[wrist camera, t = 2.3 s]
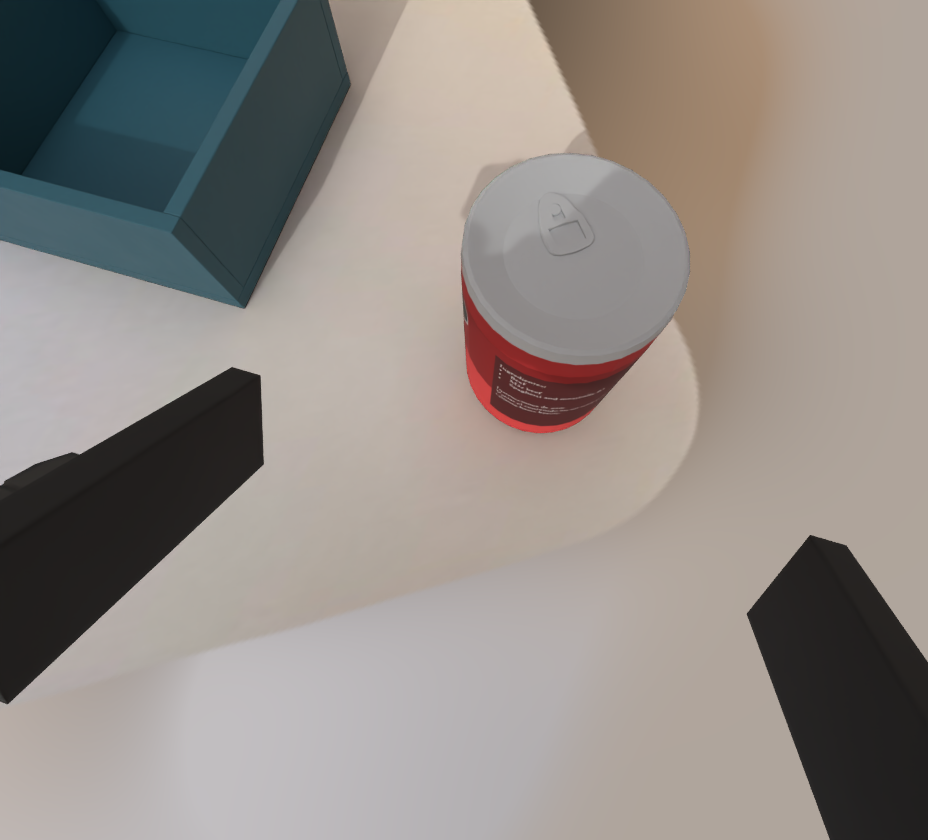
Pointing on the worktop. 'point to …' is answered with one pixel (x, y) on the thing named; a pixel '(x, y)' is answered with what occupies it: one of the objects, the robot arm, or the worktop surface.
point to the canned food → (565, 285)
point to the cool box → (163, 132)
